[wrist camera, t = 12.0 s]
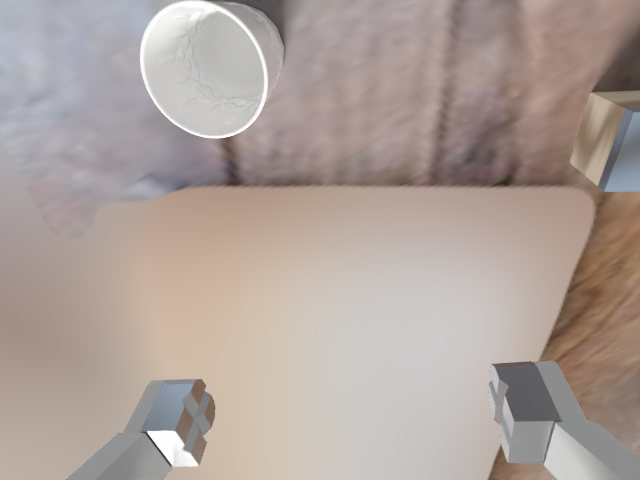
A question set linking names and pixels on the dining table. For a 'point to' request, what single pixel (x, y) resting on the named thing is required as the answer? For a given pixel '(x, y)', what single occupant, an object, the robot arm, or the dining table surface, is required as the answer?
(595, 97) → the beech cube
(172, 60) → the white cup
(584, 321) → the dining table surface
